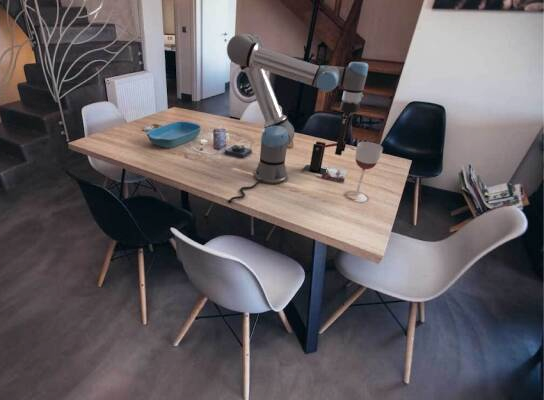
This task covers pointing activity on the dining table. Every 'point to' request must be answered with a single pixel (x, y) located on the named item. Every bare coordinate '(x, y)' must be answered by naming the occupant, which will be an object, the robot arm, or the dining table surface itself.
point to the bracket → (316, 159)
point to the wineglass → (366, 161)
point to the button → (238, 145)
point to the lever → (330, 144)
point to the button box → (238, 151)
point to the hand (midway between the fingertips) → (339, 152)
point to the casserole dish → (174, 134)
